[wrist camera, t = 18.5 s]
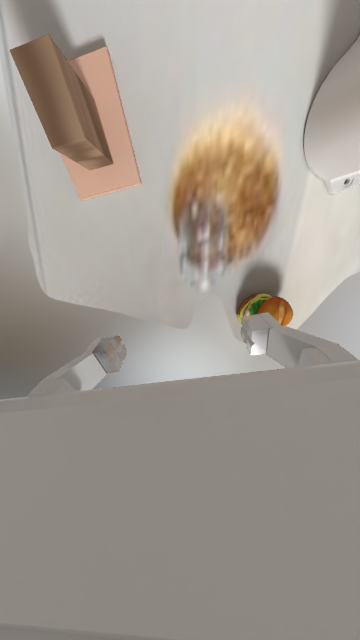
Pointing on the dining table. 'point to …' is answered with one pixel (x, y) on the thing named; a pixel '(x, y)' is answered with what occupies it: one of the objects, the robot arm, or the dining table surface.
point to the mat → (105, 92)
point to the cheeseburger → (267, 308)
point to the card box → (62, 103)
